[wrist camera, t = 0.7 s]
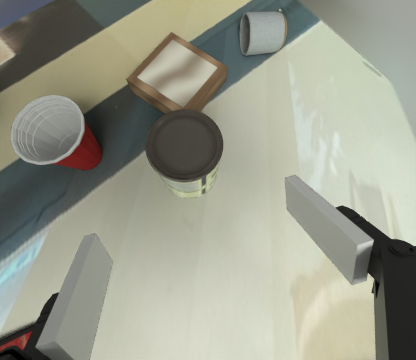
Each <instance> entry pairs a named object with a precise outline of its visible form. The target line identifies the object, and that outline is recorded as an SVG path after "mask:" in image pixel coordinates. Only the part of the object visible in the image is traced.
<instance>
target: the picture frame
mask: <svg viewBox="0 0 416 360" xmlns="http://www.w3.org/2000/svg"><path fill="white" fill-rule="evenodd" d="M227 70H228V67H227V66H225V65H224V64H222V63H220V62H219V61H217V60H216V59H214V58H212V57H211V56H209V55H208V54H206V53H204V52H203V51H201V50H199V49H198V48H196V47H195V46H193V45H191V44H190V43H188V42H187V41H185V40H183V39H182V38H180V37H179V36H177V35H175V34H174V33H172V32H171V33H170V34H169V35H168V36H167V37H166V38H165V39H164V40H163V42H162V43H161V44H160V45H159V46H158V47H157V48H156V49H155V50H154V51H153V52H152V53H151V54H150V55H149V56H148V57H147V58H146V59H145V60H144V61H143V63H142V64H141V65H140V66H139V67H138V68H137V69H136V70H135V71H134V72H133V73H132V74H131V75H130V76H129V77H128V78H127V79H126V80H127V82H128V84H129V86H130V88H131V90H132V92H133V93H134V94H136V95H137V96H139V97H140V98H142V99H143V100H145V101H146V102H148V103H149V104H150V105H152V106H153V107H155V108H156V109H158V110H159V111H161V112H162V113H164V114H166V113H168V112H171V111H174V110H181V109H190V110H195V111H198V112H201V110H202V109H203V108H204V107H205V105H206V104H207V103H208V102H209V101H210V99H211V98H212V97H213V96H214V94H215V93H216V92H217V91H218V90H219V88H220V87H221V86H222V85H223V83H224V82H225V81H226V76H227Z"/></svg>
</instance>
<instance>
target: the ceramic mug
mask: <svg viewBox="0 0 416 360" xmlns="http://www.w3.org/2000/svg"><path fill="white" fill-rule="evenodd" d="M286 35H287V21H286V18H285V16H284V15H283V14H282V13H280V12H246V13H244V15H243V17H242V20H241V24H240V47H241V51H242V54H243V55H245V56H248V55H256V54H263V53H272V52H276V51H278V50H280V49H281V48H282V46H283V45H284V42H285V39H286Z"/></svg>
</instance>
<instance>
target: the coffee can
mask: <svg viewBox="0 0 416 360" xmlns="http://www.w3.org/2000/svg"><path fill="white" fill-rule="evenodd" d="M145 150H146V155H147V158H148V161H149V162H150V164H151V166H152V167H153V168H154V169H155V171H157V173H158V174H159V175H160V177H161V178H162V180H163V181H164V182H165V184H166V186H167V187H168V189H169V190H170V191H171V192H172V193H173V194H175V195H176V196H179V197H181V198H186V199H193V198H198V197H201V196H203V195H204V194H206V193H207V192H208V191H209V190H210V189H211V188H212V186H213V185H214V182H215V179H216V173H217V169H218V164H219V160H220V158H221V155H222V151H223V139H222V135H221V132H220V130H219V128H218V126H217V125H216V123H215V122H214V121H213V120H212V119H211V118H209V117H208V116H206V115H205V114H203V113H201V112H198V111H195V110H190V109H181V110H174V111H171V112H168V113H166V114H164V115H163V116H161V117H160V118H158V119H157V120H156V121H155V122H154V123H153V125H152V126H151V128H150V129H149V131H148V134H147V137H146V142H145Z"/></svg>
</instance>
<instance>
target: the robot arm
mask: <svg viewBox="0 0 416 360" xmlns="http://www.w3.org/2000/svg"><path fill="white" fill-rule="evenodd" d="M285 189H286V205H287V210H288V211H289V213H290V214H291V215H292V216H293V217H294V218H295V220H296V221H297V222H298V223H299V224H300V225H301V227H302V228H303V229H304V230H305V231H306V232H307V234H308V235H309V236H310V237H311V238H312V239H313V241H314V242H315V243H316V244H317V245H318V246H319V248H320V249H321V250H322V251H323V252H324V253H325V254H326V256H327V257H328V258H329V259H330V260H331V261H332V263H333V264H334V265H335V266H336V267H337V268H338V270H339V271H340V272H341V273H342V274H343V275H344V277H345V278H346V279H347V280H348V281H349V282H350V284H351V285H355V284H358V283H361V282H364V281H366V280H367V275H368V273H369V274H370V275H371V276H372V277H373V278H374V283H373V288H372V293H374V313H375V344H376V360H416V246H413V245H411V244H409V243H407V242H405V241H402V240H398V239H390V238H389V237H388V236H386V235H385V234H384V233H382V232H381V231H380V230H379V229H377V228H376V227H375V226H373V225H372V224H371V223H369V222H368V221H366V220H365V219H364V218H363V217H362V216H360V215H359V214H358V213H356V212H355V211H354V210H352V209H350V208H348V207H345V206H339V207H336V208H335V207H333V206H332V205H331V204H330V203H329V202H327V201H326V200H325V199H324V198H323V197H321V196H320V195H319V194H318V193H317V192H315V191H314V190H313V189H312V188H311V187H309V186H308V185H307V184H306V183H305V182H303V181H302V180H301V179H300V178H299V177H297V176H296V175H293V176H289V177H286V178H285ZM112 264H113V261H112V259H111V257H110V256H109V254H108V252H107V251H106V249H105V248H104V246H103V244H102V243H101V241H100V239H99V238H98V236H97V234H96V233H94V234H90V235H87V236H84V238H83V240H82V242H81V244H80V247H79V249H78V251H77V254H76V256H75V258H74V260H73V263H72V265H71V267H70V269H69V272H68V274H67V276H66V279H65V281H64V283H63V285H62V288H61V290H60V292H58V293H55V294H53V295H52V296H51V297H50V299H49V300H48V301H47V302H46V303H45V305H44V307H43V309H42V311H41V313H40V316H39V318H38V320H37V322H36V325H35V326H34V328H33V330H32V332H31V334H30V336H29V339H28V341H27V343H26V345H25V347H24V349H23V350H22V349H20V348H19V347H18V346H9V347H7V348H5V349H3V350H2V351H0V360H90V357H91V353H92V349H93V344H94V340H95V336H96V332H97V328H98V323H99V319H100V315H101V311H102V306H103V302H104V298H105V294H106V290H107V285H108V281H109V277H110V273H111V268H112Z"/></svg>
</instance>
